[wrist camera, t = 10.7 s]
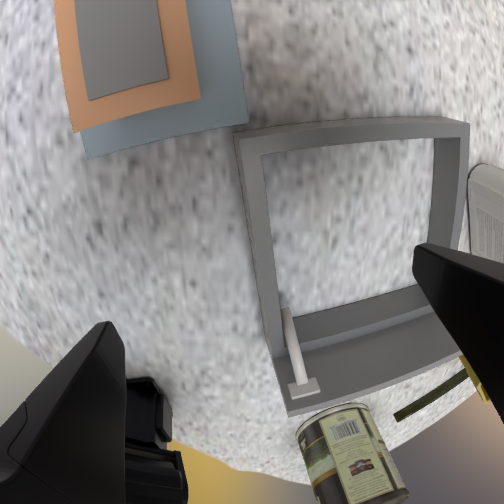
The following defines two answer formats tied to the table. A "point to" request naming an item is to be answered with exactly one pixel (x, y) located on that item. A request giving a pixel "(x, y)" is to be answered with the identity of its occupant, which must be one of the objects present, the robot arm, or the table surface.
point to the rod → (431, 396)
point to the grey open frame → (366, 311)
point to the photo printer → (487, 212)
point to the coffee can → (349, 458)
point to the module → (124, 57)
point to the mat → (210, 84)
